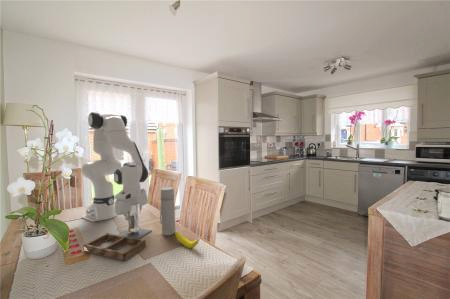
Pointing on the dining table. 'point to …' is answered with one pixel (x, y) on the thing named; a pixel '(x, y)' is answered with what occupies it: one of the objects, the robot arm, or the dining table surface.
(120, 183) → the robot arm
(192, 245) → the banana
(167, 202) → the water bottle
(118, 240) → the frame
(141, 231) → the charcoal mat
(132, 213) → the beer glass
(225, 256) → the dining table surface
